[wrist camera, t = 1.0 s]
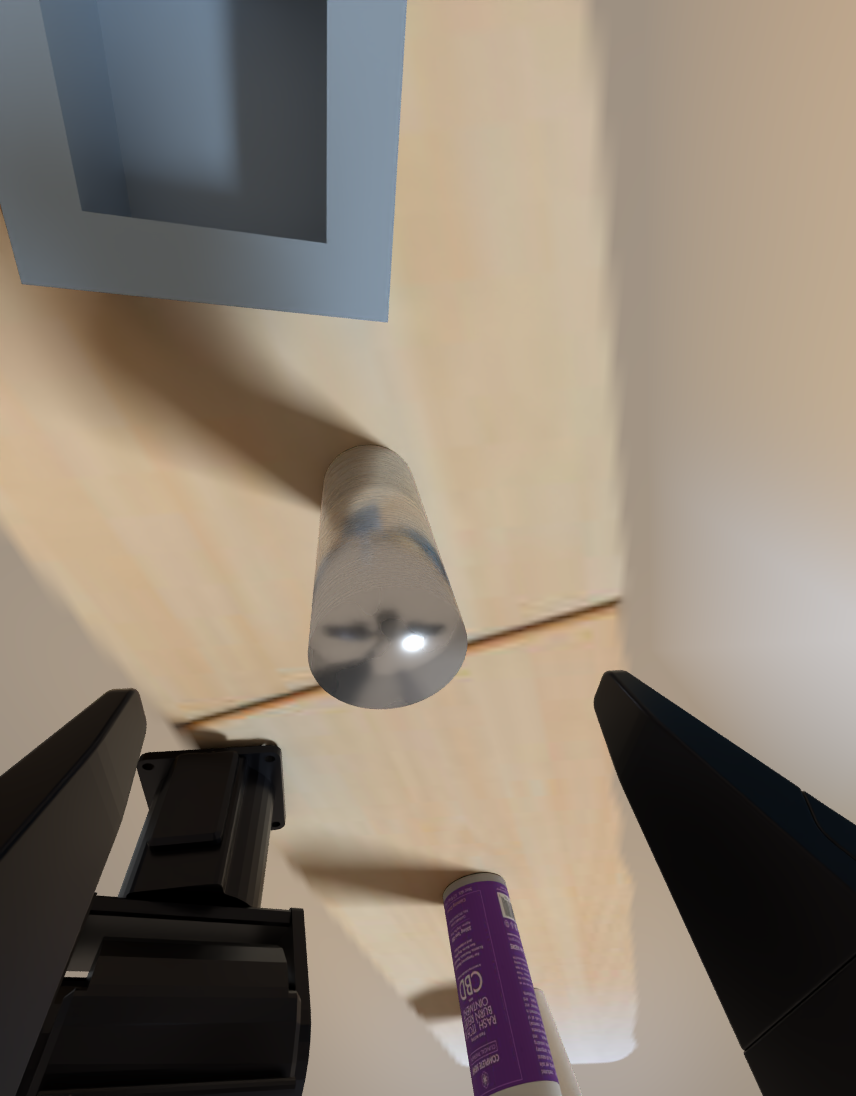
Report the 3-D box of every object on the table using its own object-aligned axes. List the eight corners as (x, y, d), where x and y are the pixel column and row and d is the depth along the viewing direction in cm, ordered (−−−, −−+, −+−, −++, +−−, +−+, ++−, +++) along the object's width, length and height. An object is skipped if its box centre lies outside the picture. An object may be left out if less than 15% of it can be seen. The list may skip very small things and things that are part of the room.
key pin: (410, 530, 19) (456, 705, 11) (323, 528, 18) (309, 712, 11) (418, 447, 17) (478, 587, 10) (323, 442, 17) (306, 586, 9)
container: (451, 874, 33) (521, 1258, 20) (513, 871, 34) (617, 1232, 21) (435, 908, 35) (489, 1276, 22) (494, 905, 36) (578, 1252, 23)
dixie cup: (468, 999, 45) (498, 1170, 36) (553, 974, 45) (602, 1138, 37) (482, 1026, 49) (512, 1184, 41) (559, 1003, 49) (605, 1156, 41)
